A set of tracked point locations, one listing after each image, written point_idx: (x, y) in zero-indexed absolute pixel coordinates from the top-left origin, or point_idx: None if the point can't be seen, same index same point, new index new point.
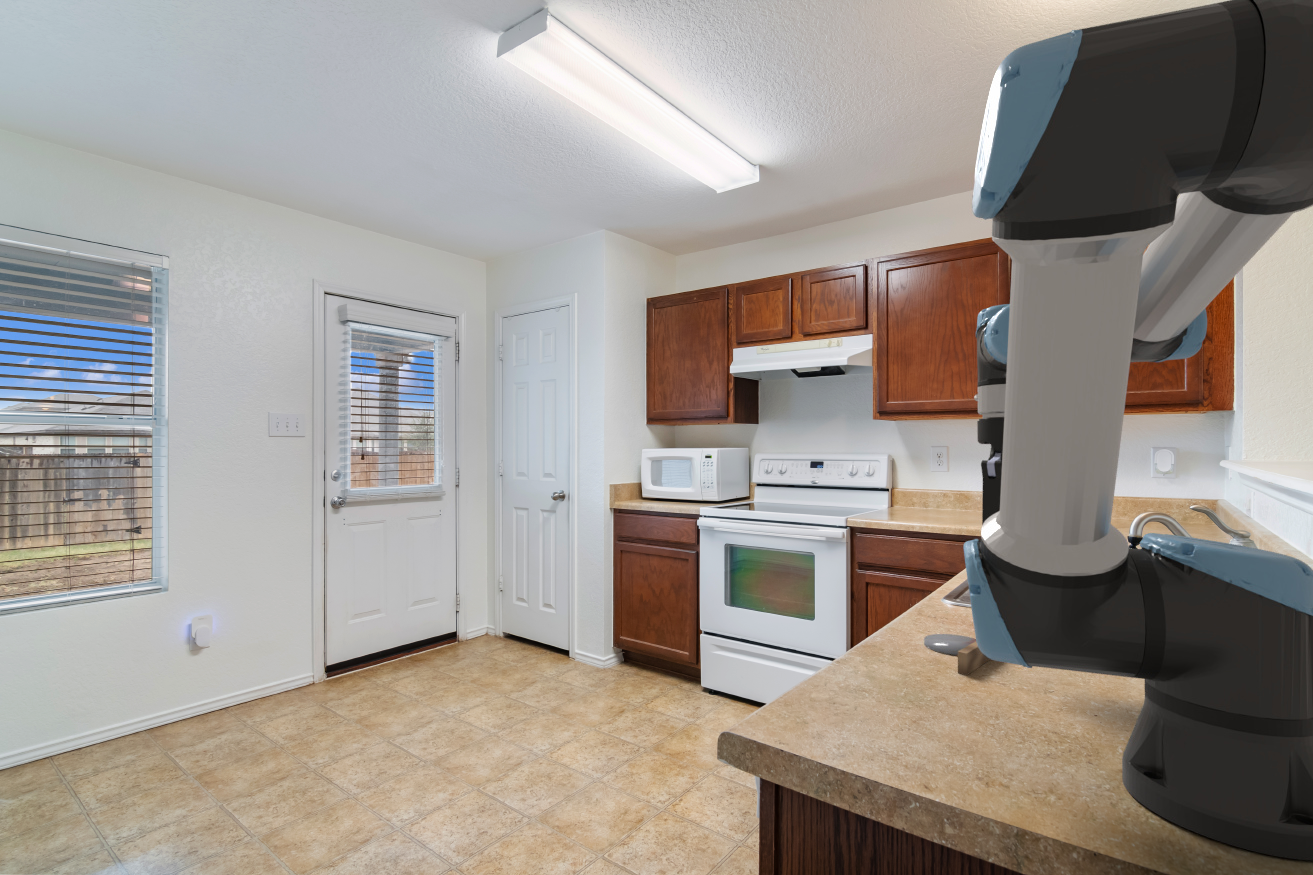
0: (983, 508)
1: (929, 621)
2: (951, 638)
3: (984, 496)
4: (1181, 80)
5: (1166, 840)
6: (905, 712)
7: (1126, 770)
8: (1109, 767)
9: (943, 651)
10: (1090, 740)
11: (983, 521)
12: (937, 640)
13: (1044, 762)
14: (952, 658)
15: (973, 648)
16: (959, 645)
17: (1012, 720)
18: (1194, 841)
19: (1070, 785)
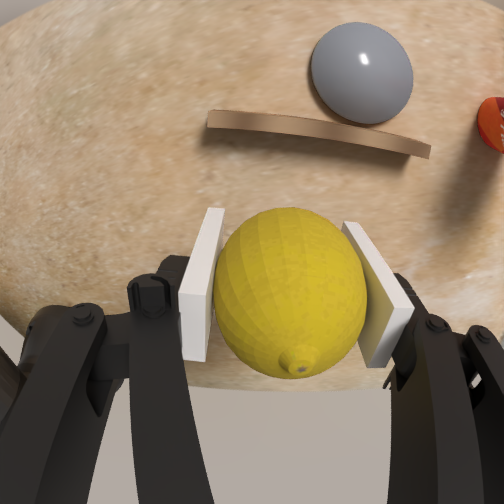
0: (24, 394)
1: (479, 29)
2: (384, 64)
3: (2, 456)
4: None
5: (18, 319)
6: (30, 127)
7: (38, 315)
8: (68, 297)
9: (311, 61)
10: (104, 283)
11: (52, 341)
12: (355, 44)
13: (36, 259)
14: (290, 81)
15: (249, 128)
16: (349, 82)
17: (90, 219)
18: None
19: (23, 278)
